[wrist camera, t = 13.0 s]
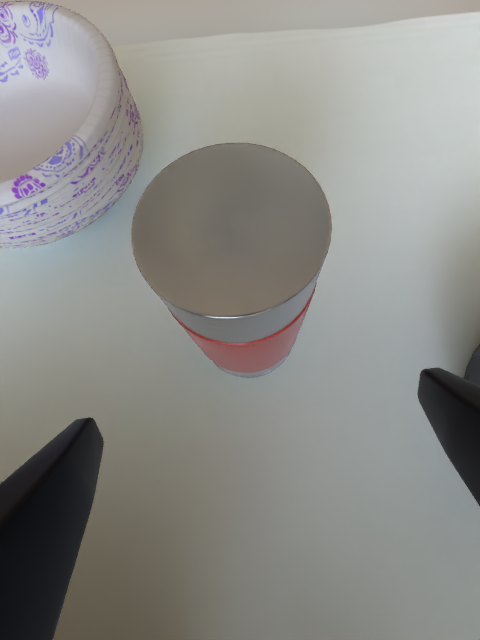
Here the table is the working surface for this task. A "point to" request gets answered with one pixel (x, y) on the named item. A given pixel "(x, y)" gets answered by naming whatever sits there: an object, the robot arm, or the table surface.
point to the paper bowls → (60, 124)
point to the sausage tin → (234, 250)
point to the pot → (474, 368)
